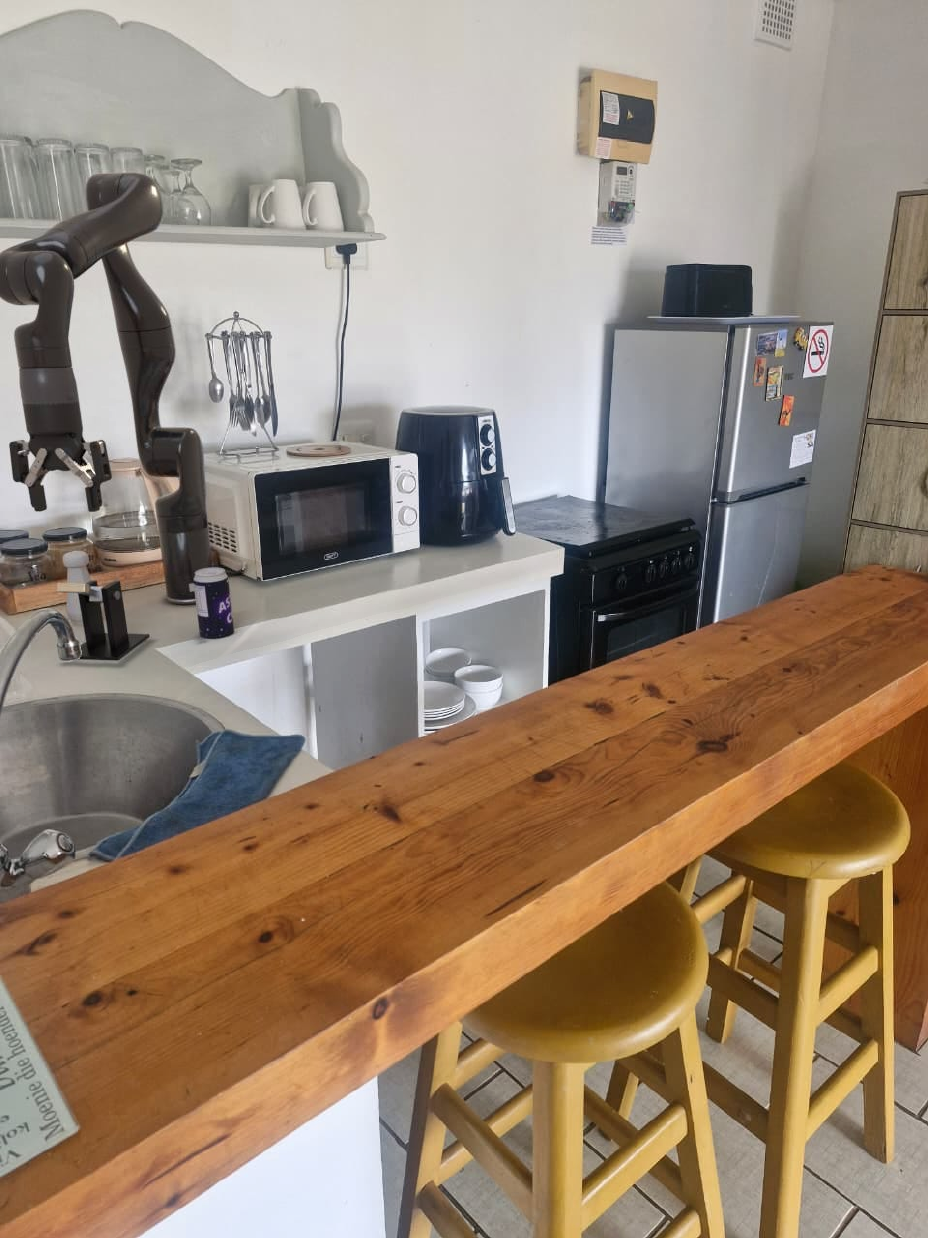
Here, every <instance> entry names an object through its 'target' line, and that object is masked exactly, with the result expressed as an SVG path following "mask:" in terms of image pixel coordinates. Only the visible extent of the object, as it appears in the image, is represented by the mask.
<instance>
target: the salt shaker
mask: <svg viewBox="0 0 928 1238" xmlns="http://www.w3.org/2000/svg"><path fill="white" fill-rule="evenodd" d="M89 563H90V557H89V554H88V553H87V552H86V551H82V550H73V551H69V552H66V553H64V555H63V556H62V564H63V566H64V567H66V568H67V575H66V576H67V578H66V583H82V584H86V583H88V582H89V581H91V580H92V579H91V577H90V573H89V570H88V568H87V565H89ZM65 607H66V610H65V612H66V614H67V616H68V617H69V619H70V620H72V621H77V622H80V621H81V622H83V620H82V614H81V608H80V602H79V596H78V593H66V606H65Z"/></svg>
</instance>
